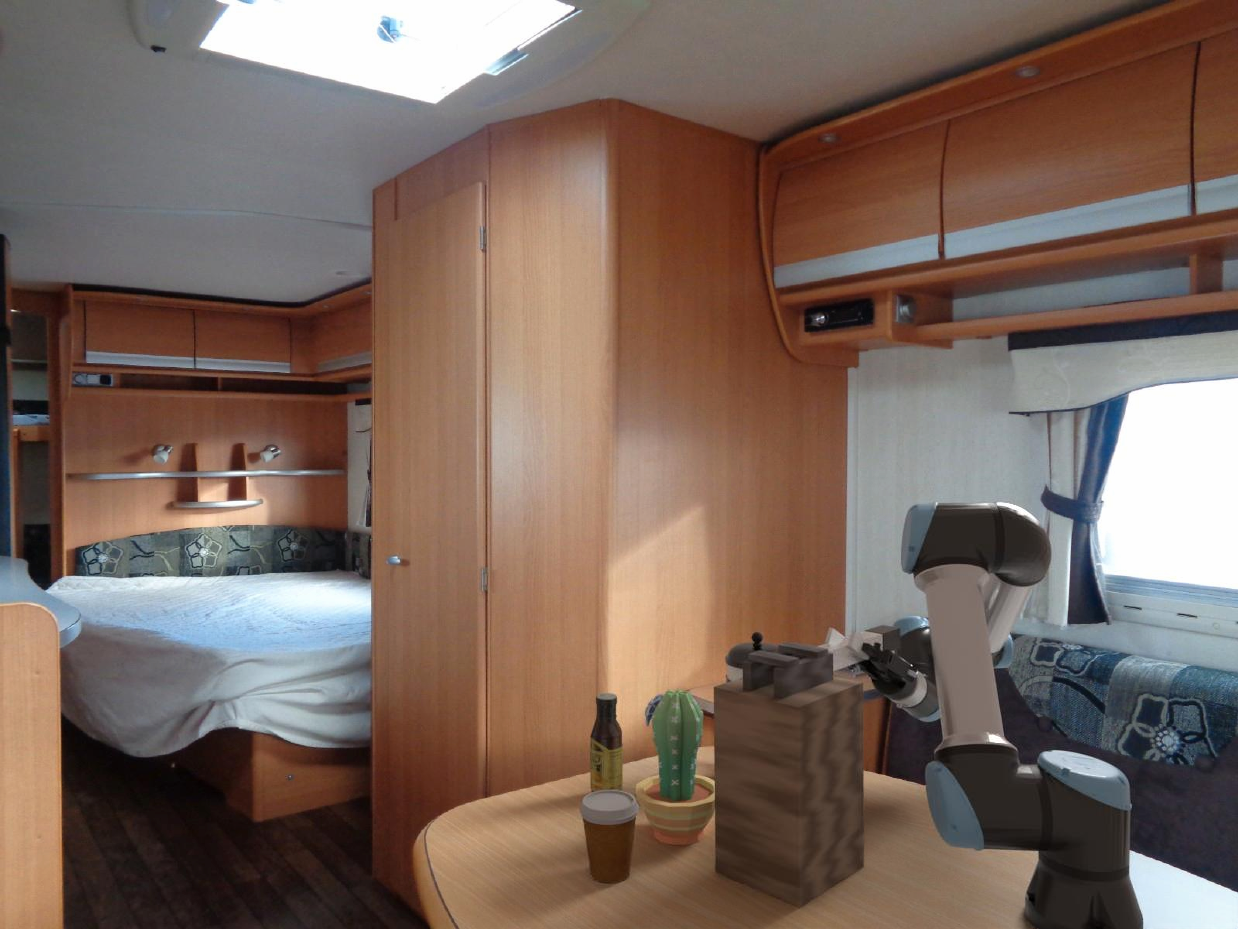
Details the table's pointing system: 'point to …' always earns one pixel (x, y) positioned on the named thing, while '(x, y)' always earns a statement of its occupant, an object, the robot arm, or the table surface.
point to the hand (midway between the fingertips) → (840, 637)
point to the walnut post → (789, 774)
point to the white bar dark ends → (879, 634)
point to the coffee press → (745, 655)
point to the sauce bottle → (606, 746)
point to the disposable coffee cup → (609, 833)
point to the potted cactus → (676, 771)
